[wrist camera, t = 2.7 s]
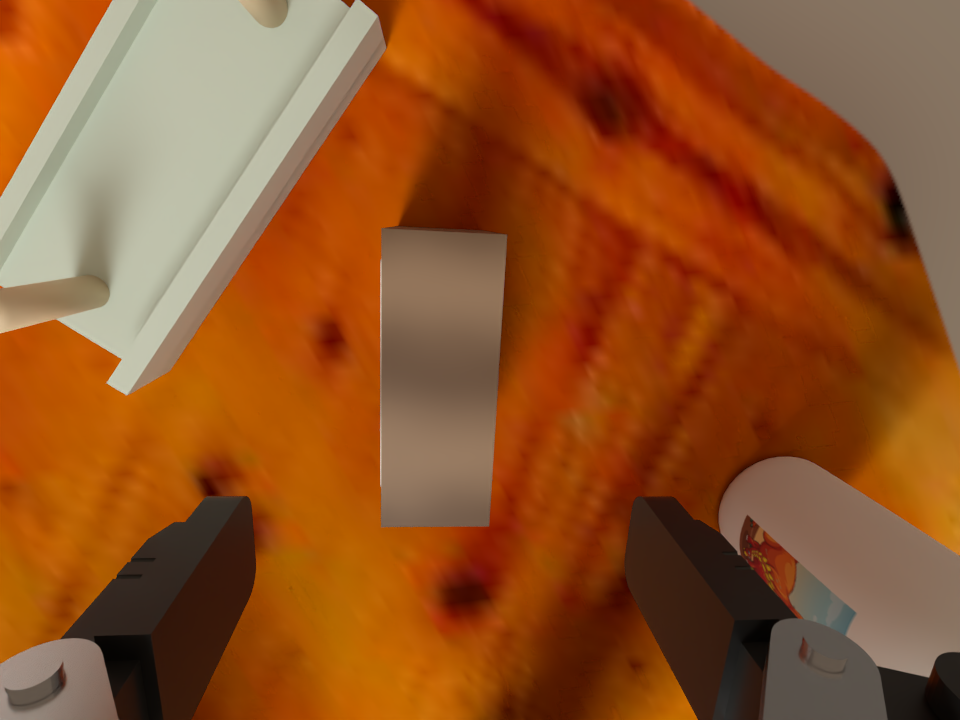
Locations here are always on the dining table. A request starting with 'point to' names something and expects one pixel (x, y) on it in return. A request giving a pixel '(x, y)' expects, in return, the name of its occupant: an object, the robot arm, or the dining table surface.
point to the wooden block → (439, 374)
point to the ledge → (171, 165)
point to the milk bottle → (846, 562)
